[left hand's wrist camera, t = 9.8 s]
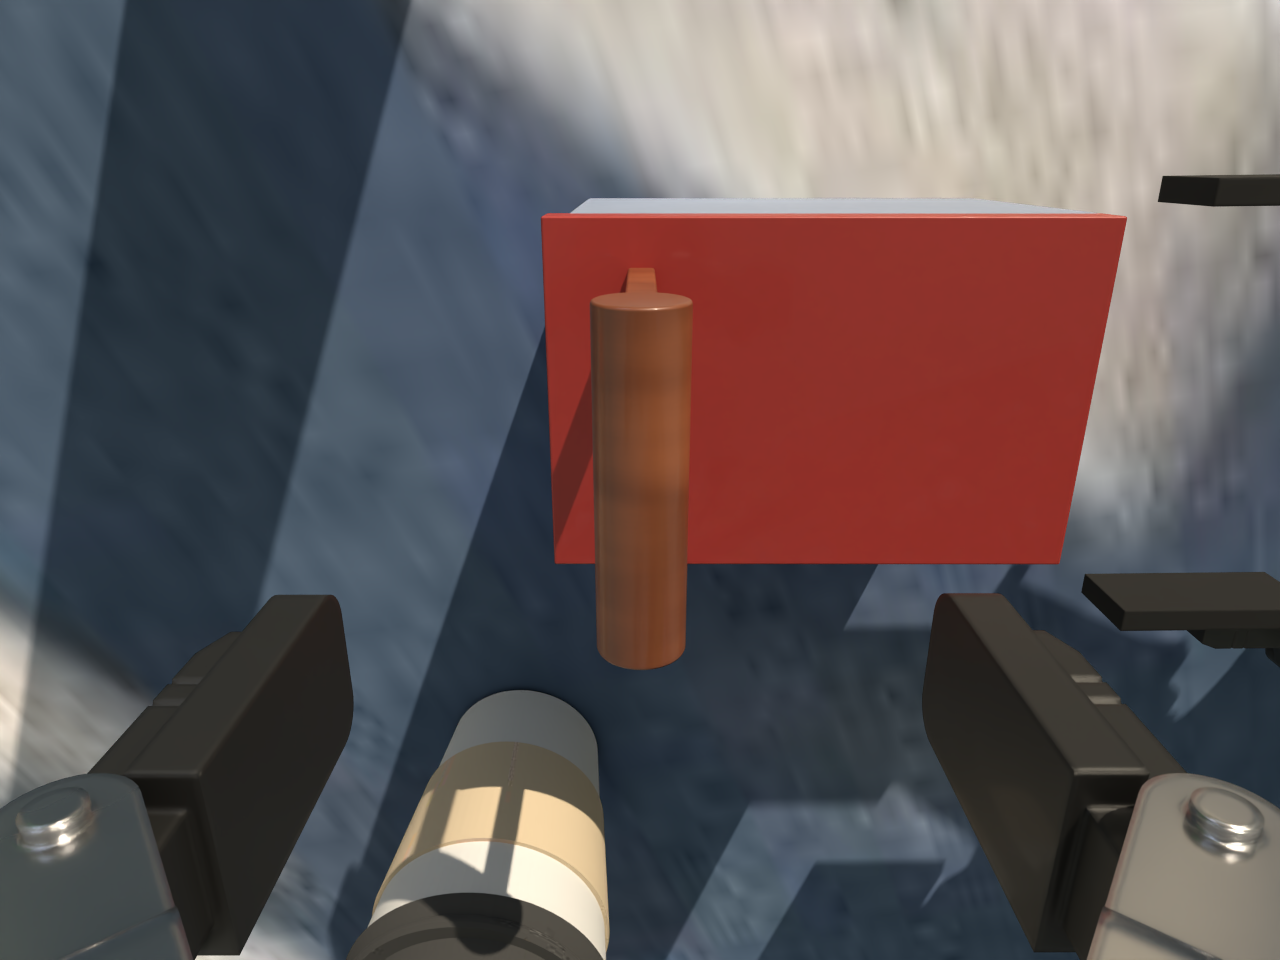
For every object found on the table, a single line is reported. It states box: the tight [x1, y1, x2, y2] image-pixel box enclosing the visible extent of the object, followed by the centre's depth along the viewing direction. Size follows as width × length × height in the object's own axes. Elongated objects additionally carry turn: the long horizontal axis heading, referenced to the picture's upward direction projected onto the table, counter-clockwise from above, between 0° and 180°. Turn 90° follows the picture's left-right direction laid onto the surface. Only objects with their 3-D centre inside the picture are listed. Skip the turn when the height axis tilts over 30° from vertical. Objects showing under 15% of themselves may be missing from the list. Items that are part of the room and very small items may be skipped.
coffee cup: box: [346, 690, 609, 960], centre depth 33 cm, size 9×9×15 cm
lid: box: [541, 213, 1127, 670], centre depth 20 cm, size 15×10×8 cm, turn 90°
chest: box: [571, 198, 1098, 214], centre depth 29 cm, size 14×10×9 cm
